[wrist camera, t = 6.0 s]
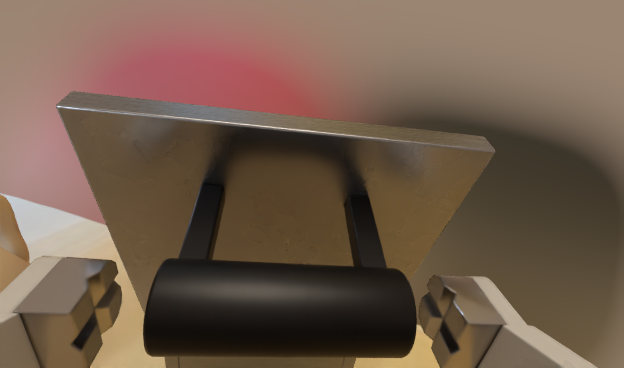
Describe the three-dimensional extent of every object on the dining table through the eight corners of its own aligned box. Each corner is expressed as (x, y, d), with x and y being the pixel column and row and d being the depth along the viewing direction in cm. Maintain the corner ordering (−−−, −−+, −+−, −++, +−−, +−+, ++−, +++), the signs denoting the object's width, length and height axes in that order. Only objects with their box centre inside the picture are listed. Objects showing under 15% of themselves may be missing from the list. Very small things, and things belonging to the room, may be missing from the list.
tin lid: (70, 89, 8) (-144, 278, 4) (484, 135, 10) (619, 303, 6) (164, 338, 18) (129, 461, 14) (358, 340, 20) (375, 452, 16)
